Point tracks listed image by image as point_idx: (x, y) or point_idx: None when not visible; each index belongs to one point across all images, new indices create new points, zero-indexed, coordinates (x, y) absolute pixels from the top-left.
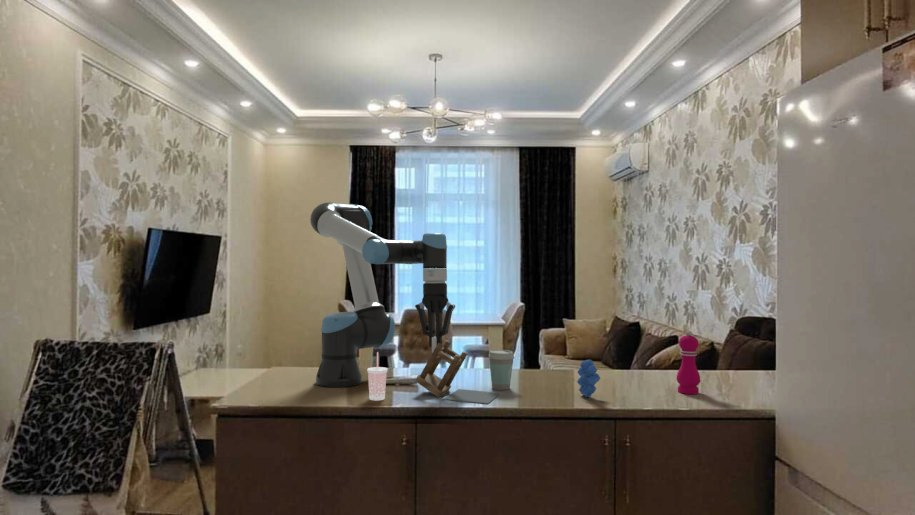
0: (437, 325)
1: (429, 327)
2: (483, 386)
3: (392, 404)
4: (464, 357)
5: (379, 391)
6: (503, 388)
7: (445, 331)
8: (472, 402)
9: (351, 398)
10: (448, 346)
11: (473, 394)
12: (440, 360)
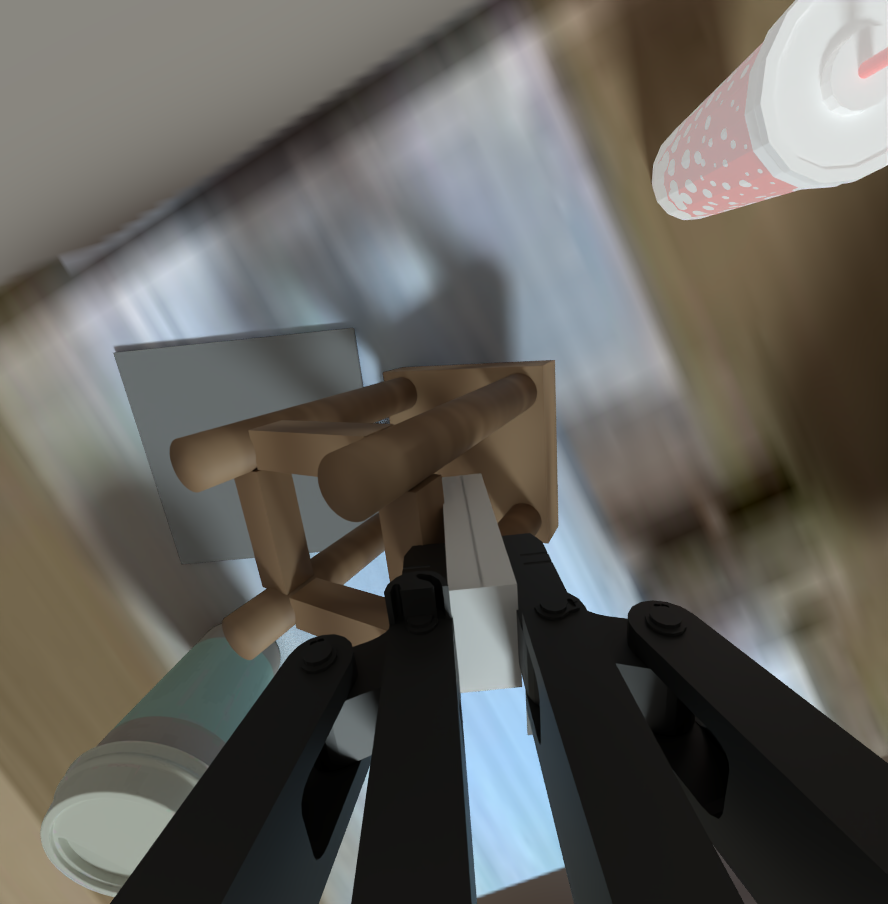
0: (419, 791)
1: (616, 718)
2: None
3: (554, 83)
4: (249, 601)
5: (696, 109)
6: (208, 632)
7: (264, 692)
8: (196, 344)
9: None
10: None
11: None
12: None
